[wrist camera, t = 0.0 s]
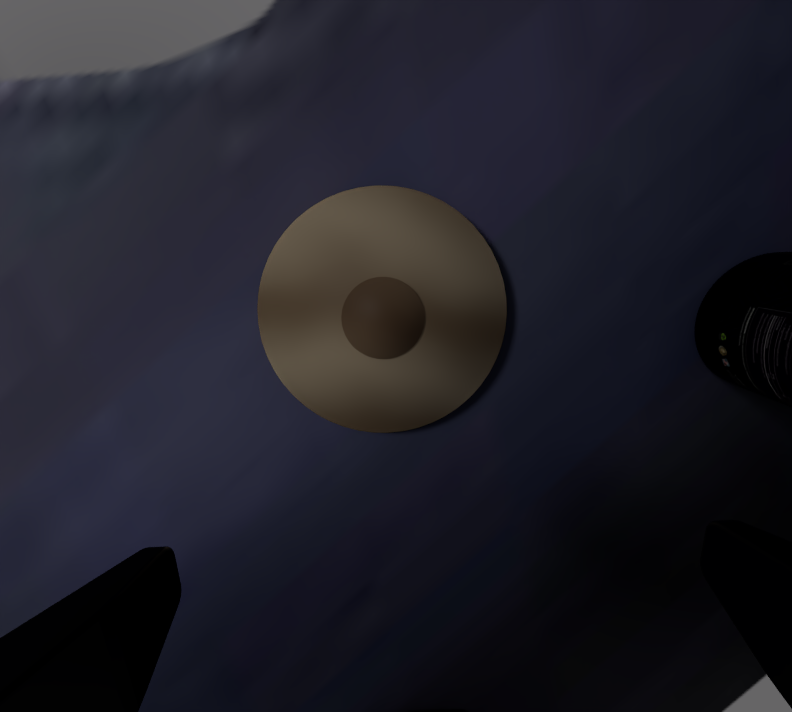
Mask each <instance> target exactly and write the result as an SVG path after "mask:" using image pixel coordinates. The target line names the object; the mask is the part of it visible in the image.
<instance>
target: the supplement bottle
mask: <svg viewBox="0 0 792 712" xmlns="http://www.w3.org/2000/svg"><path fill="white" fill-rule="evenodd" d="M695 342H696V346H697V350H698V352H699V354H700V357H701V358H702V360H703V362H704V363H705V364H706V366H707V367H708V368H709V369H710V370H711V371H712V372H713V373H715V374H716V375H717V376H719V377H721V378H722V379H724V380H726V381H728V382H730V383H733V384H735V385H738V386H740V387H742V388H745V389H747V390H750V391H752V392H755V393H757V394H760V395H762V396H764V397H767V398H769V399H772V400H774V401H777V402H779V403H782V404H784V405H787V406H789V407H792V252H775V253H767V254H763V255H759V256H756V257H753V258H750V259H748V260H745V261H743V262H741V263H739V264H738V265H736V266H734V267H733V268H731V269H730V270H729V271H727V272H726V273H725V274H723V275H722V276H721V277H720V278H719V279H718V280H717V281H716V282H715V283H714V284H713V286H712V287H711V288H710V289H709V291H708V292H707V294H706V295H705V297H704V299H703V301H702V303H701V305H700V307H699V310H698V313H697V317H696V322H695Z"/></svg>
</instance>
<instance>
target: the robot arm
mask: <svg viewBox="0 0 792 712" xmlns="http://www.w3.org/2000/svg"><path fill="white" fill-rule="evenodd" d="M700 566H701V570H702V573H703V575H704V577H705V579H706V581H707V582H708V584H709V585H710V587H711V588H712V590H713V592H714V593H715V595H716V596H717V598H718V599H719V601H720V603H721V604H722V606H723V607H724V609H725V610H726V612H727V613H728V615H729V617H730V618H731V620H732V621H733V623H734V624H735V626H736V628H737V629H738V631H739V632H740V634H741V635H742V637H743V638H744V640H745V642H746V643H747V645H748V646H749V648H750V649H751V651H752V653H753V654H754V656H755V657H756V659H757V660H758V662H759V663H760V665H761V666H762V668H763V669H764V671H765V672H766V674H767V675H768V677H769V678H770V680H771V681H772V682H773V684H774V685H775V686H776V688H777V689H778V691H779V692H780V693H781V695H782V696H783V698H784V699H785V700H786V701H787V703H788V704H789V705H790V707H791V708H792V542H790V541H788V540H785V539H783V538H780V537H778V536H775V535H773V534H770V533H768V532H766V531H763V530H761V529H758V528H756V527H753V526H751V525H748V524H746V523H744V522H741V521H737V520H719V521H712V522H710V523H709V524H708V526H707V527H706V531H705V537H704V542H703V548H702V553H701V558H700ZM180 598H181V583H180V578H179V573H178V568H177V563H176V559H175V554H174V551H173V550H172V549H171V548H170V547H148V548H144V549H142V550H140V551H138V552H137V553H135V554H134V555H132V556H130V557H129V558H127V559H126V560H124V561H122V562H121V563H119V564H118V565H116V566H114V567H113V568H111V569H110V570H108V571H106V572H105V573H103V574H102V575H100V576H98V577H97V578H95V579H94V580H92V581H90V582H89V583H87V584H86V585H84V586H82V587H81V588H79V589H78V590H76V591H75V592H73V593H71V594H70V595H68V596H67V597H65V598H63V599H62V600H60V601H59V602H57V603H55V604H54V605H52V606H51V607H49V608H47V609H46V610H44V611H43V612H41V613H39V614H38V615H36V616H35V617H33V618H31V619H30V620H28V621H27V622H25V623H23V624H22V625H20V626H19V627H17V628H16V629H14V630H12V631H11V632H9V633H8V634H6V635H4V636H3V637H1V638H0V712H138V710H139V708H140V706H141V703H142V701H143V698H144V696H145V693H146V691H147V688H148V685H149V683H150V680H151V677H152V675H153V672H154V669H155V667H156V664H157V661H158V659H159V656H160V653H161V650H162V648H163V645H164V642H165V640H166V637H167V634H168V632H169V629H170V626H171V624H172V621H173V618H174V616H175V613H176V610H177V608H178V605H179V602H180ZM457 712H459V711H457Z"/></svg>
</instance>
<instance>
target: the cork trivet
mask: <svg viewBox="0 0 792 712" xmlns="http://www.w3.org/2000/svg"><path fill="white" fill-rule="evenodd" d="M506 316H507V305H506V293H505V287H504V281H503V278H502V275H501V272H500V268H499V265H498V263H497V261H496V259H495V257H494V254H493V252H492V250H491V249H490V247H489V245H488V244H487V242H486V241H485V239H484V238H483V236H482V235H481V234H480V233H479V231H478V230H477V229H476V228H475V227H474V226H473V224H472V223H471V222H470V221H468V220H467V219H466V218H465V217H464V216H463V215H462V214H461V213H459V212H458V211H457V210H455V209H454V208H452V207H451V206H449V205H448V204H446V203H445V202H443V201H441V200H439V199H437V198H435V197H433V196H431V195H428V194H425V193H422V192H419V191H416V190H413V189H408V188H403V187H397V186H368V187H359V188H355V189H351V190H347V191H343V192H340V193H338V194H336V195H333V196H331V197H328V198H326V199H324V200H322V201H321V202H319V203H317V204H316V205H314V206H312V207H311V208H309V209H308V210H307V211H306V212H304V213H303V214H302V215H301V216H299V217H298V218H297V219H296V220H295V221H294V222H293V223H292V224H291V225H290V226H289V227H288V228H287V229H286V231H285V232H284V233H283V235H282V236H281V238H280V239H279V240H278V242H277V243H276V245H275V246H274V248H273V250H272V252H271V254H270V256H269V258H268V260H267V263H266V266H265V268H264V271H263V274H262V278H261V283H260V288H259V294H258V324H259V329H260V334H261V340H262V343H263V346H264V349H265V352H266V355H267V357H268V359H269V361H270V363H271V365H272V367H273V369H274V371H275V372H276V374H277V375H278V377H279V378H280V380H281V381H282V383H283V384H284V385H285V386H286V388H287V389H288V390H289V391H290V392H291V393H292V395H294V396H295V397H296V398H297V399H298V400H299V401H300V402H301V403H302V404H303V405H305V406H306V407H307V408H309V409H310V410H312V411H313V412H314V413H316V414H318V415H319V416H321V417H323V418H325V419H327V420H329V421H331V422H333V423H336V424H339V425H341V426H344V427H347V428H351V429H355V430H359V431H367V432H379V433H390V432H399V431H406V430H410V429H415V428H419V427H421V426H424V425H427V424H430V423H432V422H434V421H436V420H438V419H440V418H442V417H444V416H446V415H448V414H449V413H451V412H452V411H454V410H455V409H457V408H458V407H459V406H460V405H462V404H463V403H464V402H465V401H466V400H467V399H469V398H470V397H471V396H472V394H473V393H474V392H475V391H476V390H477V389H478V388H479V387H480V386H481V384H482V383H483V381H484V380H485V378H486V377H487V375H488V374H489V372H490V370H491V369H492V367H493V365H494V363H495V361H496V359H497V356H498V353H499V351H500V348H501V345H502V341H503V337H504V333H505V327H506Z"/></svg>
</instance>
